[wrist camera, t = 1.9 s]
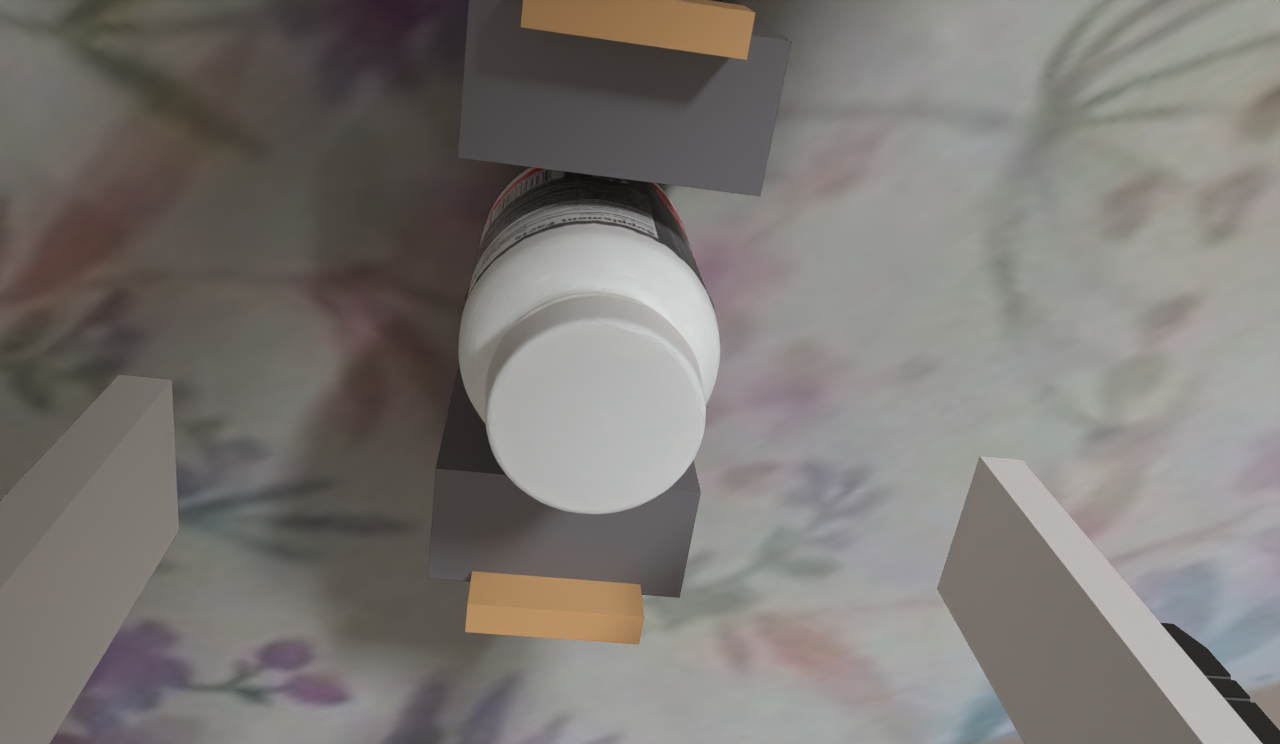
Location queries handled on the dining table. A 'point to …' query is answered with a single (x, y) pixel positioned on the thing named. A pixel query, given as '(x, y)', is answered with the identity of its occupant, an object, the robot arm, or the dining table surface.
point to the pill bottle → (588, 340)
